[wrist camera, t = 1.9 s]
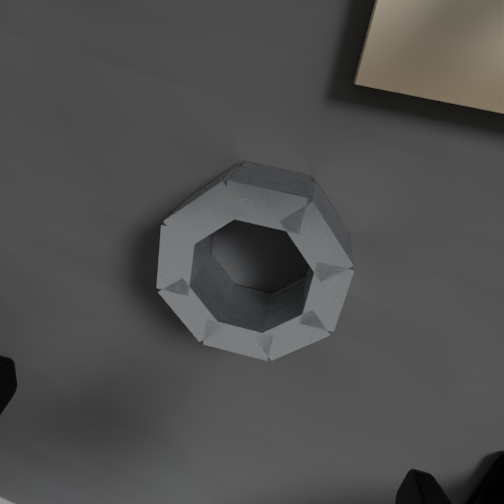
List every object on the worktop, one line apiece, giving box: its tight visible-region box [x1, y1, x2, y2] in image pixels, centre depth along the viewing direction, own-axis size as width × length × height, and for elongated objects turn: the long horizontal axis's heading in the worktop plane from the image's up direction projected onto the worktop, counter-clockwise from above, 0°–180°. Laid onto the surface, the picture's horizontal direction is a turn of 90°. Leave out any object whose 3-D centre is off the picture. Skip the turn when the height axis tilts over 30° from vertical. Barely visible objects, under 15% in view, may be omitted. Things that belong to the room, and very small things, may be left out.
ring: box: [156, 161, 354, 361], centre depth 16 cm, size 7×7×3 cm
